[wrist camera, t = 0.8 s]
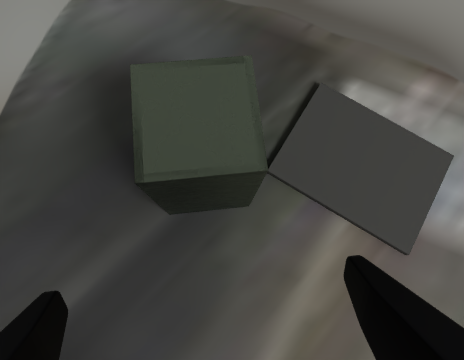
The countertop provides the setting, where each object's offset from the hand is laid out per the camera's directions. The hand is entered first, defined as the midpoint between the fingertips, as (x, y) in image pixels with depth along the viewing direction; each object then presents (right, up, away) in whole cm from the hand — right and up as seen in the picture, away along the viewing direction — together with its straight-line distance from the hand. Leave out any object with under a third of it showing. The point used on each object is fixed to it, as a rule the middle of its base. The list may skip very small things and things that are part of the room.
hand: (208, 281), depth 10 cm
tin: (-1, +4, +15) cm, 15 cm away
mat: (+11, +4, +15) cm, 19 cm away
